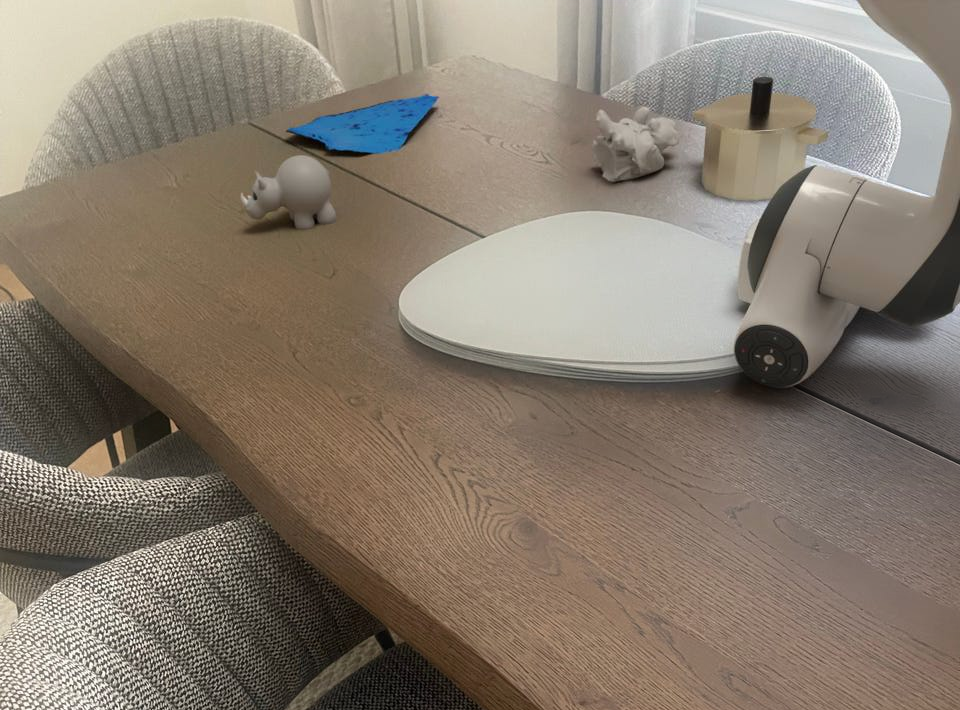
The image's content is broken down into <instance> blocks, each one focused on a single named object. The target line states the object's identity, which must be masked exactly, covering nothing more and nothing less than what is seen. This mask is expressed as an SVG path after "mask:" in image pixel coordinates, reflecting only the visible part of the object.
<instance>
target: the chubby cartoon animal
mask: <svg viewBox="0 0 960 710" xmlns="http://www.w3.org/2000/svg"><path fill="white" fill-rule="evenodd" d="M253 174H254V176H255V177H256V179H255V182H254V183H253V184H252V187H251V194H250V195H247V198H246V197H245V195H244V194H243V191H242V192H241V193H240V202H241V204H242V205H243V207H244V209H245V212H246V214H247V216H249V217H250V218H251V219H252V220H256V221H258V220H262V219H264V218H265V217H266V215H267V214H268V213H272V212H277V211H279V209H280V208H281V207H283V208H285V209H286V210H288V213H289V217H290V219H291V220H292V221H293V223H294V226H295V229H297V230H309V229H311V228H313V227H314V226H315V224H316V223H315V220H316V221H317V223H318V224H320V225H330V224H334V223H335V222H336V221H337V220H338V217H337V213H336V211H335V209H334V207H333V205H332V204H331V202H330V197H331V192H332V184H331V179H330V178H331V174H330V172H329V170H328V169H327V168H326V167H324V165H323V164H322V163H321V162H319V161H318V160H317V159H316V158H314V157H312V156H309V155H304V154H299V155H293V156H290V157H288V158H287V159H285V160H284V161H283V163H281V164H280V166H279V167H278V170H277V172H276V175H275V176H274V177H273V178H272V177H267V176H264V177H263V176H262V175H261V174H260V173H259V171H257V170H255V171H254V172H253Z"/></svg>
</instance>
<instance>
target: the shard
mask: <svg viewBox="0 0 960 710" xmlns="http://www.w3.org/2000/svg"><path fill="white" fill-rule="evenodd" d="M438 99H440V96H437V95H430V94H429V93H425V94H424V95H422V96H416V97H415V96H414V97H410V98H409V97H408V98H406V99H404V98H403V99H397V100H396V99H395V100H388V101H385V102H381V103H379V102H378V103H377V104H375V105H374V104H373V105H371V106H367V107H362V108H356V109H353V110H350V111H346V112H340V113H335V114H327V115H322V116H319V117H316V118H315V119H313V120H311V121H310V122H307V123H304V124H302V125H299V126H297V127H294V126H293V127H289V128H288V129H285V131H284V132H285V133H289V134H292V135H297V136H301V137H304V138H308V139H313V140H318V141H319V142H322V143H324V144H325V147H324V149H325V150H331V151H332V150H337V151H340V152H341V151H350V152H351V151H352V152H360V153H370V154H379V155H383V154H384V153H392V151H395V152H398V151H399V150H400V149H401V147H402V146H403V145H404V144H405V142H406V141H407V138H408V136H409V133H411V132H412V131H413V129H414V128H415V127H416V126H417V125H418V124H419V122H420V121H421V120H422V119H423V118H424V116H426V115H427V114H428V112H429V111H430V110H431V108H432V107H433V106H434V105H435V104H436V103H437V101H438Z"/></svg>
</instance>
